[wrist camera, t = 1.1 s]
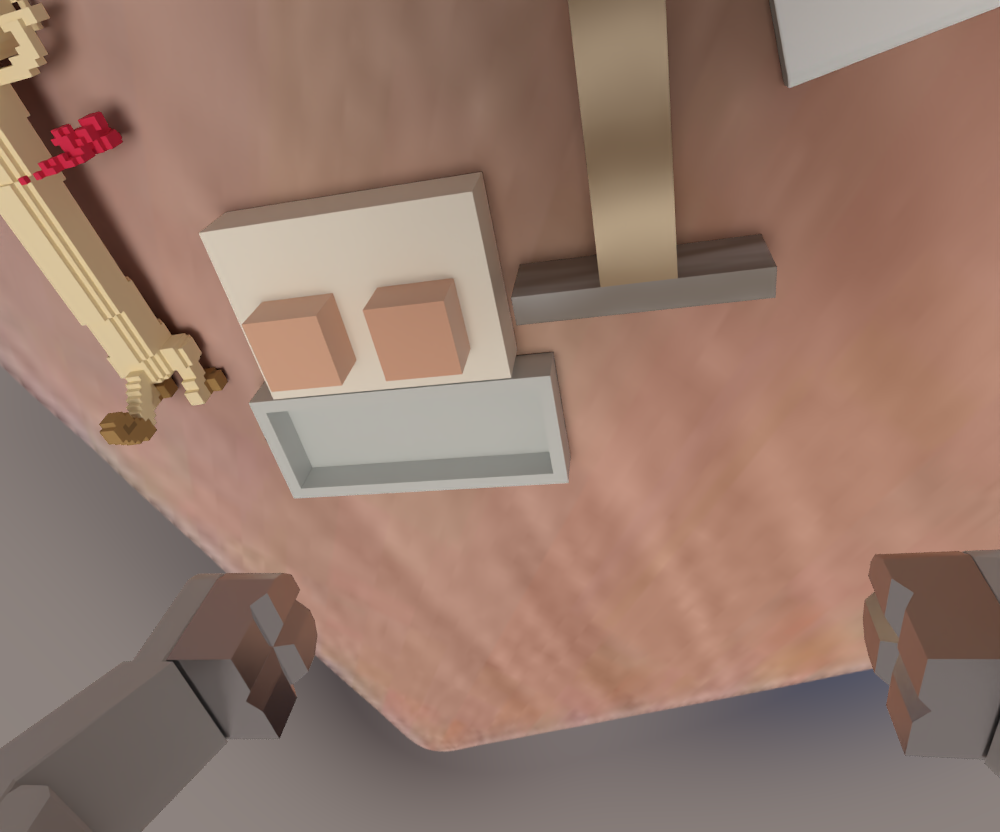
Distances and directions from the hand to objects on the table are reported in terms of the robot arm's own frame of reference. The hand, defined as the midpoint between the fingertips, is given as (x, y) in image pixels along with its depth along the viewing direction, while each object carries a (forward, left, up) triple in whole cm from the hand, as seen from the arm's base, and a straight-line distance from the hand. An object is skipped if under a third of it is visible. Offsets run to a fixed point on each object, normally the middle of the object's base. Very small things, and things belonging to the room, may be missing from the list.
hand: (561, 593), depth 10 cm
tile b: (+7, -9, -24) cm, 27 cm away
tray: (+15, -13, -27) cm, 34 cm away
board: (+6, -13, -27) cm, 30 cm away
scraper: (0, +1, -27) cm, 27 cm away
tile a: (+7, -16, -24) cm, 30 cm away
